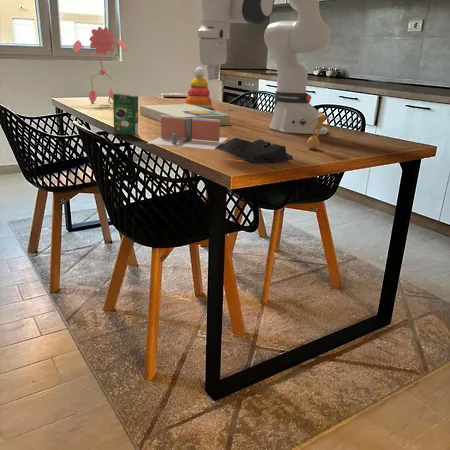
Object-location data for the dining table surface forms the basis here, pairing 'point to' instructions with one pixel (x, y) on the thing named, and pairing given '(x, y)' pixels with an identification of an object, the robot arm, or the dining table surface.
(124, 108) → the coffee box
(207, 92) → the stacking toy
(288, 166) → the dining table surface
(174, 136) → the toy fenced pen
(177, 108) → the puzzle box
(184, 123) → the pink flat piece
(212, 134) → the fence panel
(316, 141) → the figurine
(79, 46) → the figurine
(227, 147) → the dark slate chunk
